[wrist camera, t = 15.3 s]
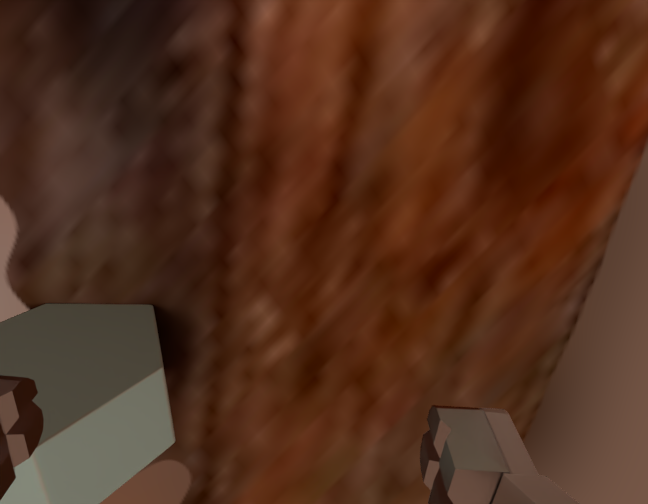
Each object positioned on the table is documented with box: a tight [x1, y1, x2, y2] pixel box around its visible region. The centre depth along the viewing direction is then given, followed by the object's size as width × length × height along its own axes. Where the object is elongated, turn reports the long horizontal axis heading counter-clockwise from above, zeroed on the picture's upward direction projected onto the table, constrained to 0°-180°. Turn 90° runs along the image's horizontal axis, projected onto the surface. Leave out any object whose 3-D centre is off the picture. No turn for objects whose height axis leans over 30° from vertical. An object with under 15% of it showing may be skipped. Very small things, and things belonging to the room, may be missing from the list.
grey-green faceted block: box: [0, 304, 176, 504], centre depth 37 cm, size 17×8×21 cm
